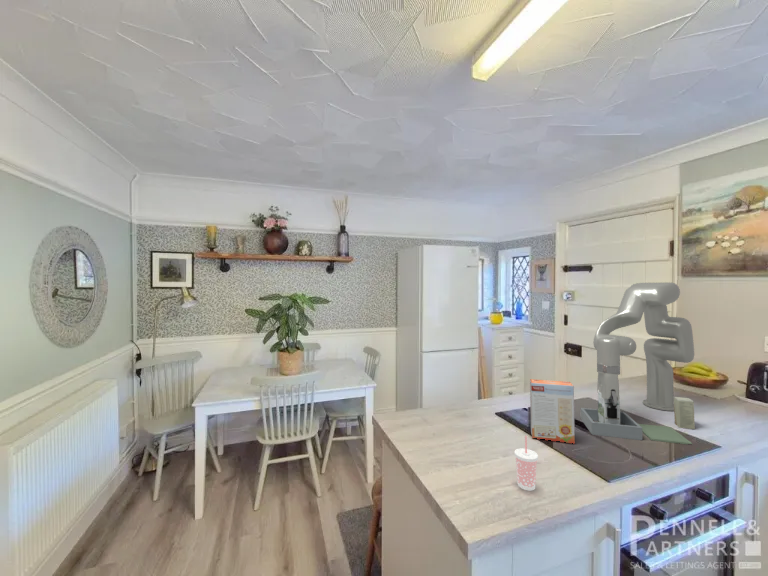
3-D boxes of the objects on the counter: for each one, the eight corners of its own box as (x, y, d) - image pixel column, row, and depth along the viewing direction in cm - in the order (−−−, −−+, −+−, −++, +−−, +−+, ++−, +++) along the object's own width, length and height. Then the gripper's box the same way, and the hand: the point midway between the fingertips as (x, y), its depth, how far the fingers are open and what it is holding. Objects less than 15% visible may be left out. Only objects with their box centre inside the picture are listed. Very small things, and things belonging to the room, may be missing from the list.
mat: (634, 424, 130) (634, 423, 130) (671, 428, 127) (671, 427, 127) (651, 440, 117) (651, 438, 117) (692, 445, 113) (692, 443, 113)
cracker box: (571, 437, 120) (570, 381, 120) (575, 444, 114) (574, 385, 114) (530, 432, 124) (529, 378, 124) (531, 439, 119) (531, 382, 119)
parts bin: (580, 418, 137) (580, 407, 137) (624, 422, 132) (624, 411, 132) (591, 434, 122) (591, 422, 122) (642, 440, 117) (642, 427, 117)
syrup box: (621, 432, 124) (620, 394, 124) (604, 430, 125) (603, 393, 125) (613, 425, 129) (613, 389, 129) (597, 424, 131) (597, 389, 131)
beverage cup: (513, 477, 94) (513, 429, 94) (536, 481, 93) (536, 432, 93) (515, 490, 88) (515, 439, 89) (540, 494, 87) (539, 442, 87)
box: (690, 425, 129) (690, 398, 129) (695, 429, 125) (694, 401, 125) (673, 423, 132) (673, 396, 132) (677, 427, 128) (677, 399, 128)
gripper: (591, 363, 137) (591, 406, 137) (604, 373, 120) (605, 422, 120) (611, 364, 134) (612, 407, 134) (628, 375, 118) (629, 424, 118)
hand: (608, 414), depth 127 cm, fingers closed on syrup box, 6 cm apart
